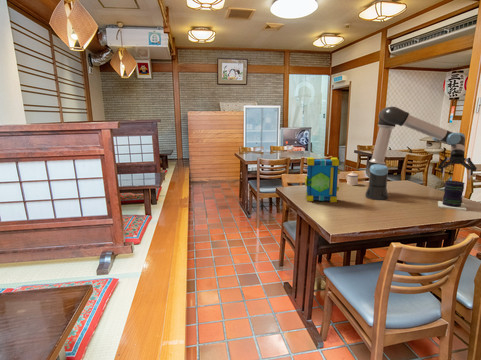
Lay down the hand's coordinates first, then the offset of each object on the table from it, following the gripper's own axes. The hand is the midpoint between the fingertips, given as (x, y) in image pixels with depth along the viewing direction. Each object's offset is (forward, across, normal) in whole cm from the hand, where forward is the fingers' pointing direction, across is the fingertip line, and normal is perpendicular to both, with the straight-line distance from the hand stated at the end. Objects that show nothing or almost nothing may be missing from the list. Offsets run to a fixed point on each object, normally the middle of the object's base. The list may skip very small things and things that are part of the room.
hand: (456, 177), depth 182 cm
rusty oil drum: (+16, +1, -7) cm, 18 cm away
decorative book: (+38, +76, +12) cm, 86 cm away
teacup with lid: (-7, +70, -33) cm, 78 cm away
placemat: (+17, +1, -8) cm, 19 cm away
